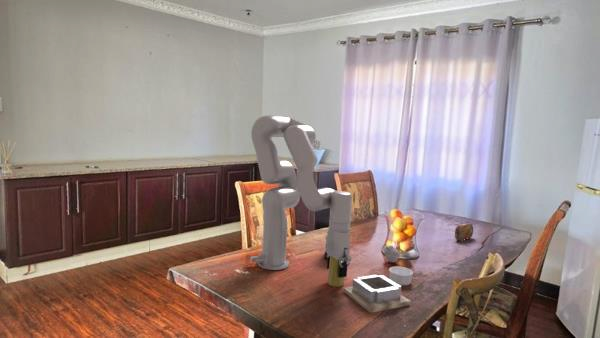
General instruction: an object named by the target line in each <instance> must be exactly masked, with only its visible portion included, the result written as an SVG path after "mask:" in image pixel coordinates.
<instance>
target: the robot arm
mask: <svg viewBox="0 0 600 338" xmlns="http://www.w3.org/2000/svg"><path fill="white" fill-rule="evenodd" d="M250 133H251V141H252V144H253V148H254V152H255V154H256V160H257V164H258V166H257V167H258V169H259V174H260V179H261V181H262V182H263V183H264V184H265V185H269V186H270V185H271V186H273V185H277V187H276V186H275V187H273V188H270V189H268V190H266V191H265V192H264V193H263V196H262V199H261V205H262V210H263V211H262V212H263V225H262V226H263V227H262V228H263V229H262V230H263V233H262V251H261V252H259V254H257V256H255V255H254V256H253V255H252V256H250V259H249V260H250V262H255V264H256V263H257V265H258V266H259V267H260V268H261V269H265V270H268V271H279V270H281V271H282V270H284V269H287V268H289V266H290V261H289V260H288V259H286V256H287V237H288V217H287V214H286V210H288V209H292V208H295V207H297V205H298V204H299V202H300V199H301V201H302V202H303V205H305V208H307V209H308V210H309V211H312V212H318V211H322V210H326V209H329V224H328V229H327V232H326V233H327V234H326V237H327V238H326V237H325V246H324V247H325V250H324V252H325V251H326V253H327V258H328V259H327V260H326V261H327V262H326V269H327V270H329V263H330V256H332V257H333V258H335V259H337V260H339V263H340V266H339V272H338V277H339V278H342V277H344V278H346V277H347V276H348V275H347V274H348V267H349V265H350V264H351V262H352V257H351V255H350V254H351V253H350V251H351V233H350V232H351V220H352V218H351V216H352V206H353V205H352V204H353V196H352V193H350V192H348V191H342V190H341V191H340V190H337V189H336V190H335V189H333V188H330V187H322V188H318V187H317V186H316V185H317V184H316V183H315V180H314V170H315V167H316V165H317V163H318V161H319V160H318V157H317V155H316V153H315V150H314V147H313V146H312V145H314V143H315V142H316V139H317V138H316V136H317V135H316V132H315V130H314V128H312V127H311V126H310V125H308V124H305V123H303V122H300V121H299V120H296V119H293V118H291V117H288V116H285V115H284V116H282V115H271V114H270V115H263V116H260V117H258V119H256V120H255V122H254V123H253V125H252V127H251V132H250ZM272 138H283V139H284V142H285V144H286V147H287V148H288V150H289V153H290V156H291V158H292V160H293V162H294V165H295V168H296V170H295V168H294V165H292V163H291V162H289V161H288V160H286V159H280V157H279V154H278V148H277V147H276V144H275V142H274V141H273V140H272ZM342 256H344V258H342ZM342 260H344V262H343V263H342Z"/></svg>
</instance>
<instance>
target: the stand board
mask: <svg viewBox="0 0 600 338" xmlns="http://www.w3.org/2000/svg"><path fill="white" fill-rule="evenodd" d="M352 288H353V285H352V286H345V287H343V289H342V290H343V291H342V292H343V293H344V294H345V295H347V296H348V297H349V298H350V299H352V300H353V301H355V303H357V304H358V305H359V306H361V307H362V308H363V309H364V310H366V311H367V312H368V313H369V314H372V313H377V312H382V311H386V310H392V309H393V310H394V309H397V308H402V307H409V306H411V300H410V299H408V298H407V297H405V296H403V295H402V294H401V298H398V300H396V301H391V302H385V303H380V304H376V303H371V304H370V303H369V302H367V301H366V300H365V299H363V298H362V297H361V296H359V295H358V294H357V293H355V292H354V291H353V290H352ZM373 289H374V290H375V289H380V288H379V287H378V288H373Z"/></svg>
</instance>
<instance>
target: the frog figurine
mask: <svg viewBox="0 0 600 338" xmlns="http://www.w3.org/2000/svg"><path fill="white" fill-rule="evenodd" d="M383 251H384V254H385V256H386V260H387V261H388V262H389V263H396V262H397V261H398V259H399V257H400V252H399V250H397V249H396V248H395V247H394V246H393V245H388V246H386V247H384V248H383Z"/></svg>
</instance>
